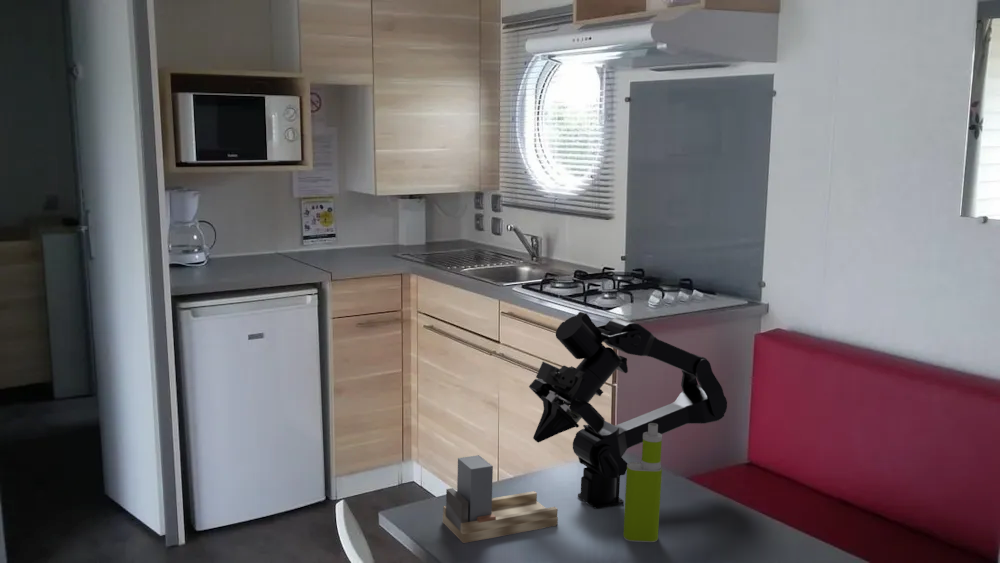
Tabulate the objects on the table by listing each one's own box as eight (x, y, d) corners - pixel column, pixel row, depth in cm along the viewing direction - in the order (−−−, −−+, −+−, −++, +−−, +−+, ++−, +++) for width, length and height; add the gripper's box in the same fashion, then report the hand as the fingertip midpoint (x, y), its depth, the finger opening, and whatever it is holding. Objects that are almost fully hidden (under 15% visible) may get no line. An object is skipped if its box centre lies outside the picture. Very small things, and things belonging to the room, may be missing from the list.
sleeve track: (533, 506, 162) (534, 472, 161) (557, 525, 154) (558, 490, 153) (442, 522, 154) (443, 486, 153) (463, 543, 146) (464, 506, 145)
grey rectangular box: (477, 509, 155) (479, 455, 153) (491, 522, 150) (492, 465, 148) (456, 513, 153) (457, 458, 152) (469, 525, 148) (471, 469, 147)
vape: (660, 542, 148) (666, 428, 145) (624, 541, 149) (630, 427, 146) (657, 532, 152) (663, 421, 149) (622, 531, 152) (628, 420, 149)
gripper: (539, 336, 165) (485, 398, 162) (592, 358, 149) (532, 429, 145) (574, 373, 170) (521, 435, 167) (629, 399, 153) (572, 468, 150)
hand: (535, 440), depth 157 cm, fingers closed
